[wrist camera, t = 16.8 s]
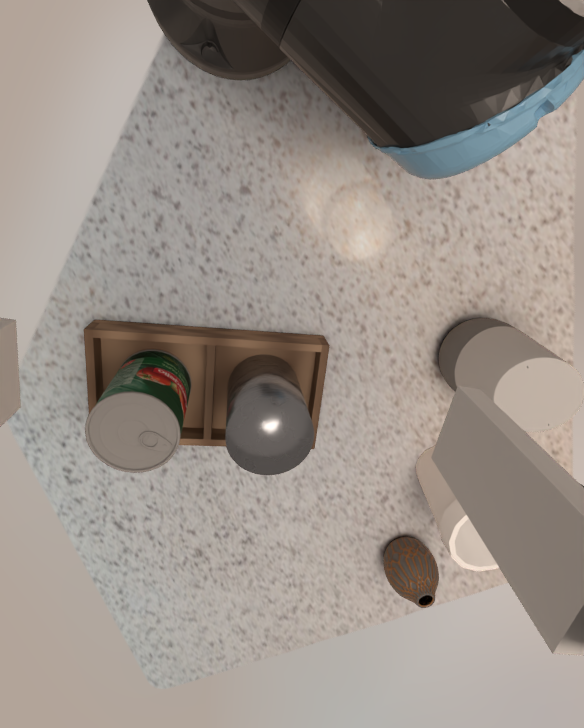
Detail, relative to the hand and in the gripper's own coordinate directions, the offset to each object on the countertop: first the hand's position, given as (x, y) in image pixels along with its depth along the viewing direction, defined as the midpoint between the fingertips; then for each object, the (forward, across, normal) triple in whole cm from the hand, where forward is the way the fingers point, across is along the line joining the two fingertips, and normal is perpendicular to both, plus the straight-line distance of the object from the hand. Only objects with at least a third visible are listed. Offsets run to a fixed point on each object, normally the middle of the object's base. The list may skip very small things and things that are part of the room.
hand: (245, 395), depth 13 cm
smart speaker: (+35, +27, -8) cm, 45 cm away
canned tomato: (+32, -8, -16) cm, 37 cm away
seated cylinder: (+33, +3, -15) cm, 37 cm away
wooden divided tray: (+33, -2, -16) cm, 37 cm away
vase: (+34, +27, -38) cm, 58 cm away
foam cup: (+34, +28, -24) cm, 50 cm away
